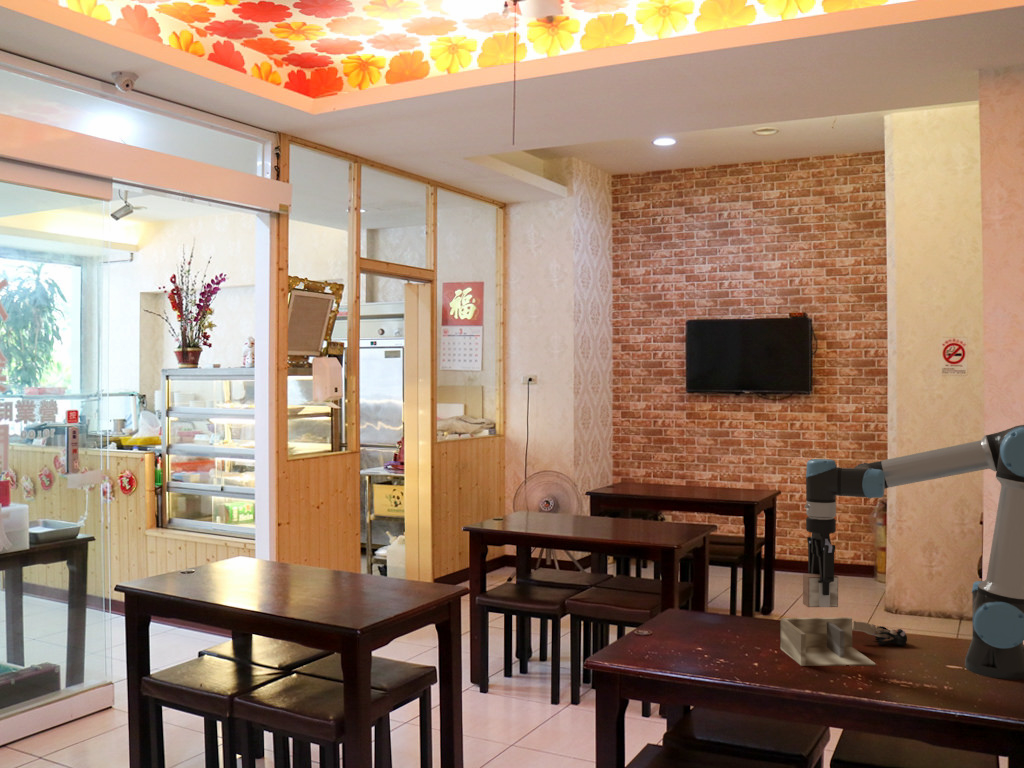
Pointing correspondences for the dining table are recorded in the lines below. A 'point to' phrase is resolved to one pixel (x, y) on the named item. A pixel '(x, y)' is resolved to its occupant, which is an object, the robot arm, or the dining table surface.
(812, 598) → the tall mauve wooden block
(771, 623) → the dining table surface
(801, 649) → the shelf
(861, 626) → the toy figure
